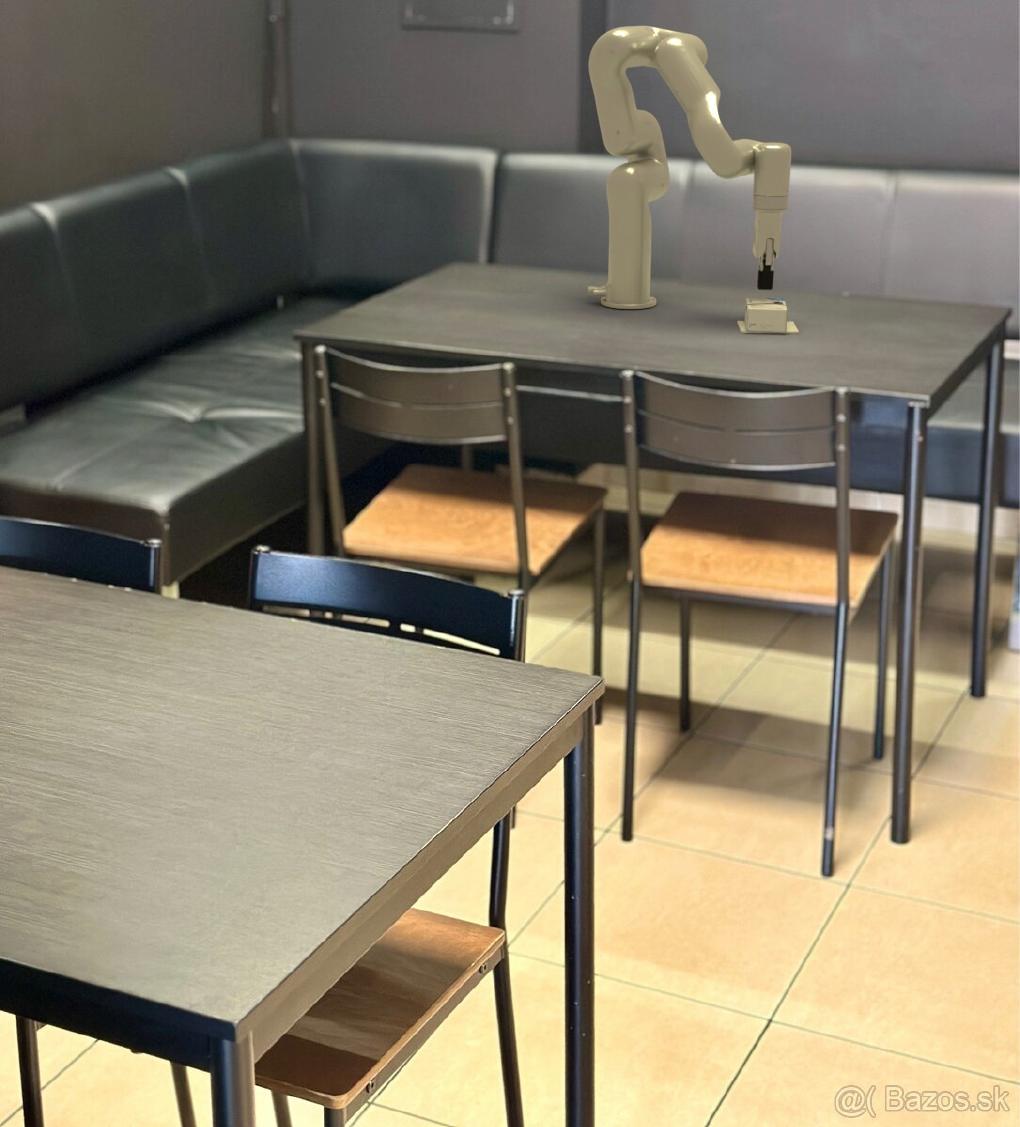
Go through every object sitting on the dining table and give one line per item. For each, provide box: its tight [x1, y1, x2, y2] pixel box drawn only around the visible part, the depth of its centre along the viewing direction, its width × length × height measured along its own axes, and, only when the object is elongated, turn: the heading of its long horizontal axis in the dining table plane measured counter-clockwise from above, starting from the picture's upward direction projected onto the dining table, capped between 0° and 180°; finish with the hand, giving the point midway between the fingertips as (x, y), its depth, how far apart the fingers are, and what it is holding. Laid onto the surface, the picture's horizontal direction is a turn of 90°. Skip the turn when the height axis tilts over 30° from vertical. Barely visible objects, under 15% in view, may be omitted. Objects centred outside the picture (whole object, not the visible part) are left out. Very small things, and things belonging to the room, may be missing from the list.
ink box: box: [744, 297, 788, 332], centre depth 338 cm, size 8×5×12 cm
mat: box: [736, 320, 800, 335], centre depth 339 cm, size 12×10×1 cm
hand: (764, 288), depth 344 cm, fingers closed
